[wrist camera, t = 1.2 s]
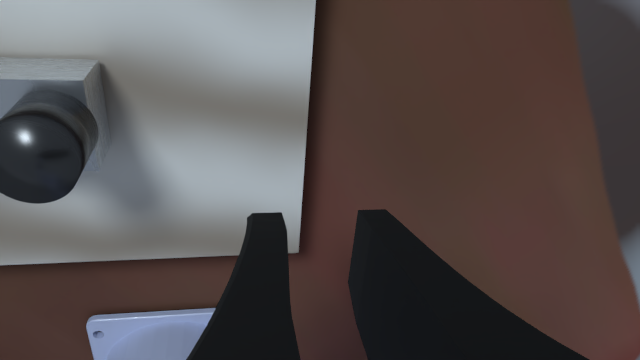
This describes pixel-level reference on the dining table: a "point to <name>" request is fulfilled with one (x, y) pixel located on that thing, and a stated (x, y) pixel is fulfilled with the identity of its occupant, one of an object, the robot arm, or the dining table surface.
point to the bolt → (50, 126)
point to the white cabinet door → (171, 125)
